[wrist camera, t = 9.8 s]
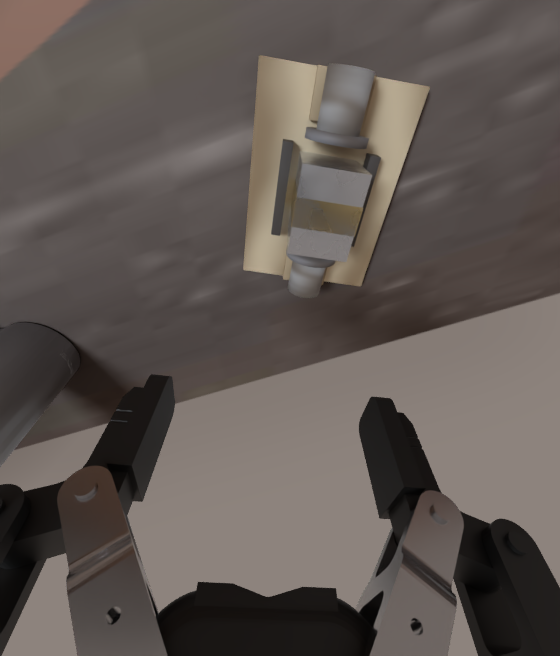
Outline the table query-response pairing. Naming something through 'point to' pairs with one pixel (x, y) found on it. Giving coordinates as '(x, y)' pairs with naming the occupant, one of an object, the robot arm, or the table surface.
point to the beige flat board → (327, 139)
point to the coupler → (326, 206)
